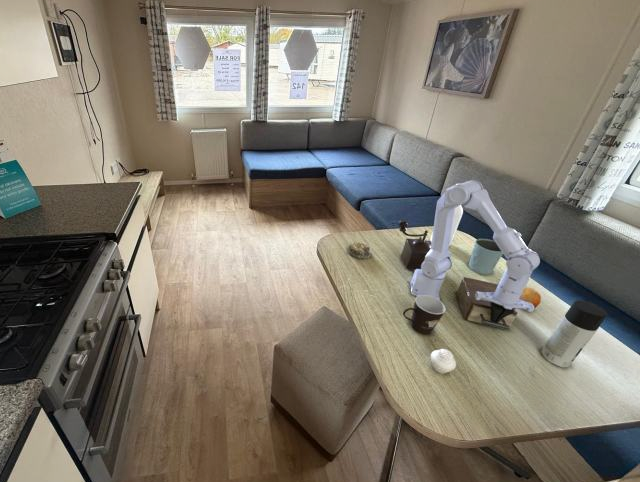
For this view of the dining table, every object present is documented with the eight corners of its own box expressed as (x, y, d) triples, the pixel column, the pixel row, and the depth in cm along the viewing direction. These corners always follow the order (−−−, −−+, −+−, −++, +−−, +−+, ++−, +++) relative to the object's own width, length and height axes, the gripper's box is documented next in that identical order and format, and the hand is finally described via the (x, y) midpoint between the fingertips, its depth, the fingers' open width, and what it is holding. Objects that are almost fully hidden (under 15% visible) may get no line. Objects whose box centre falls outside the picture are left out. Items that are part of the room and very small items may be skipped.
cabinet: (507, 330, 101) (517, 312, 97) (464, 319, 105) (472, 302, 101) (495, 301, 113) (503, 285, 109) (456, 292, 117) (463, 276, 113)
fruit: (548, 312, 107) (544, 295, 104) (521, 317, 110) (517, 301, 107) (535, 297, 114) (530, 280, 111) (510, 302, 117) (505, 286, 114)
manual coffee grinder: (424, 257, 137) (436, 222, 129) (432, 272, 128) (446, 235, 119) (388, 253, 140) (397, 218, 131) (393, 267, 130) (404, 230, 122)
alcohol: (449, 240, 151) (471, 183, 137) (451, 249, 144) (474, 189, 130) (429, 236, 154) (448, 180, 140) (430, 245, 147) (450, 186, 133)
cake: (344, 255, 138) (345, 244, 136) (352, 246, 146) (353, 235, 143) (366, 261, 133) (368, 250, 131) (373, 251, 140) (375, 241, 138)
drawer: (512, 339, 96) (520, 326, 94) (470, 328, 100) (477, 315, 97) (495, 303, 111) (502, 290, 108) (460, 295, 114) (465, 282, 112)
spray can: (572, 372, 88) (612, 320, 78) (542, 361, 91) (577, 310, 81) (566, 355, 93) (604, 305, 83) (538, 345, 96) (571, 296, 86)
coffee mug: (433, 321, 103) (442, 298, 99) (437, 340, 96) (448, 317, 91) (396, 312, 107) (403, 290, 102) (398, 330, 99) (406, 307, 95)
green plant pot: (498, 270, 130) (509, 246, 124) (487, 279, 125) (499, 254, 119) (472, 259, 137) (482, 236, 132) (461, 266, 132) (471, 242, 126)
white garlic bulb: (455, 380, 84) (464, 363, 81) (431, 376, 85) (439, 359, 82) (446, 360, 90) (454, 344, 86) (424, 357, 91) (431, 340, 87)
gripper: (485, 289, 91) (470, 323, 97) (545, 302, 87) (525, 337, 93) (480, 276, 97) (465, 308, 103) (535, 287, 93) (517, 321, 99)
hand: (493, 321), depth 99 cm, fingers closed, pressing on drawer
